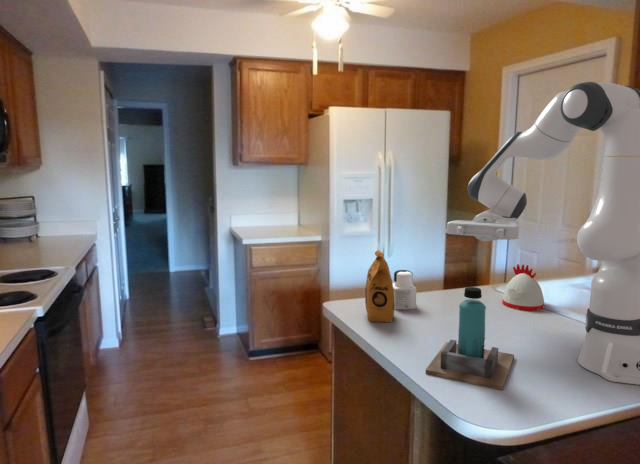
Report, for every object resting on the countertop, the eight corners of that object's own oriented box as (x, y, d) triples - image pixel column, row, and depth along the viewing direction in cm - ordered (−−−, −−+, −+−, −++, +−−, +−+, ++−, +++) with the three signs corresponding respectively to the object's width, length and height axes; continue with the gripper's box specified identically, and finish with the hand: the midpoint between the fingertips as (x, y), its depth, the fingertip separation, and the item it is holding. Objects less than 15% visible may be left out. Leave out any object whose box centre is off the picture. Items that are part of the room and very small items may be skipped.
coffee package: (363, 322, 152) (364, 256, 148) (365, 310, 164) (365, 249, 160) (394, 323, 150) (395, 257, 147) (393, 311, 162) (394, 249, 159)
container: (389, 303, 172) (390, 268, 170) (409, 302, 173) (410, 268, 171) (395, 309, 164) (395, 274, 162) (416, 308, 165) (417, 273, 163)
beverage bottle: (485, 371, 114) (489, 292, 111) (457, 369, 115) (460, 291, 112) (482, 360, 120) (485, 285, 117) (455, 358, 121) (458, 284, 118)
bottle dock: (513, 358, 124) (514, 340, 123) (502, 390, 106) (503, 369, 106) (445, 345, 132) (446, 328, 132) (425, 373, 115) (426, 354, 114)
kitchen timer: (512, 297, 179) (515, 259, 176) (549, 305, 169) (552, 264, 166) (495, 304, 169) (497, 264, 167) (533, 313, 159) (536, 271, 157)
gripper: (452, 214, 147) (441, 219, 135) (522, 218, 137) (516, 223, 125) (451, 234, 148) (440, 240, 136) (521, 239, 138) (515, 246, 126)
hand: (477, 232), depth 131 cm, fingers open, 8 cm apart
